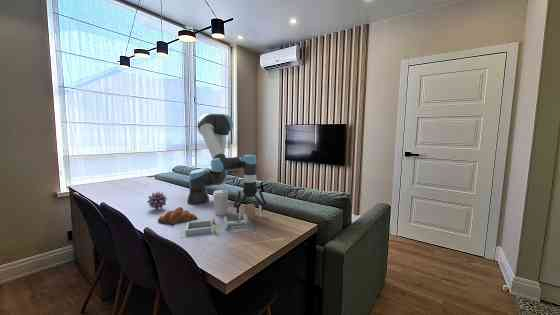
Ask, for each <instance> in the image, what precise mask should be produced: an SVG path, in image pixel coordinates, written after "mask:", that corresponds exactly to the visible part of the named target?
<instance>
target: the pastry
mask: <svg viewBox="0 0 560 315" xmlns="http://www.w3.org/2000/svg"><path fill="white" fill-rule="evenodd" d="M196 220H198V217H197V215H196V214H194V213H191V212H190V211H189V210H187V209H185V210H184V208H183V207H180V206H179V207H177V208H175V210H169V211H167V212H166V213H165V214H164V215H160V216H159V218H158V219H157V222H158V223H160V224H169V225H172V226H174V225H176V224H178V223H184V222H186V223H187V222H192V221H196Z"/></svg>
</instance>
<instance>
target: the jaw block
mask: <svg viewBox="0 0 560 315" xmlns="http://www.w3.org/2000/svg"><path fill="white" fill-rule="evenodd" d="M244 214H246V215H247V219H250V220H252V219H256V205H255V204H254V203H247V204H244Z"/></svg>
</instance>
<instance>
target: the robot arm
mask: <svg viewBox="0 0 560 315" xmlns="http://www.w3.org/2000/svg"><path fill="white" fill-rule="evenodd" d="M233 128H234V122H233V119H232V117H231V115H229V114H224V113H206V114H203V115H201V116H200V118H199V120H198V122H197V129H198V133H199V134H200V135H201V136H202V138H203V140H204V142H205V145H206V147H207V149H208V152H209V153H210V156H211V161H210V166H209V167H208V170H207V169H206V168H199V169H198V168H197V169H193V170H191V171H189V175H188V180H189V182H188V183H189V194H188V196H187V200H186V201H187V204H188V205H195V206H196V205H204V204H207V203H209V202H210V197H209V194H208V191H207V187H214V186H221V185H224V184H225V183H226V182H227V180H228V172H227V171H237V170H243V171H242V172H243V173H242V174H243V177H242V178H243V184H242V186H243V188H242V189H243V190H239V189H238V190H237V195H236V198H235V200H234V202H233V208H236V213H237V214H238V220H242V219H241V205H242V204H243V203H244V201H245V200H246V199H247V198H253V197H254V199H255V200H256V201H257V202H258V203H259V205H258V211H259V212H258V215H259V217H260V218H262V212H263V211H264V206H265V205H267V203H266V200H265V198H264V194H263V190H262V189H261V188H259V189H257V156H256V155H255V154H244V155H243V156H235V157H227V156H226V154H225V152H226V142H227V137H228V136H229V134H230V132H232V131H233ZM257 193H258V194H259V196H260V198H261V199H259V197H258V196H257V195H256V194H257ZM242 194H243V195H242ZM241 195H242V197H241ZM240 198H241V199H240Z"/></svg>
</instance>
